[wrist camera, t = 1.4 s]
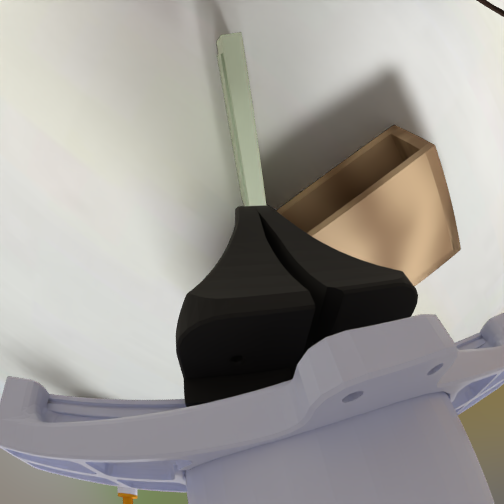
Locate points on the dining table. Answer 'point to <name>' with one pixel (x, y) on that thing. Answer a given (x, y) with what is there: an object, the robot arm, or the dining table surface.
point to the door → (241, 118)
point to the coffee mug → (492, 7)
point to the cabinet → (383, 206)
